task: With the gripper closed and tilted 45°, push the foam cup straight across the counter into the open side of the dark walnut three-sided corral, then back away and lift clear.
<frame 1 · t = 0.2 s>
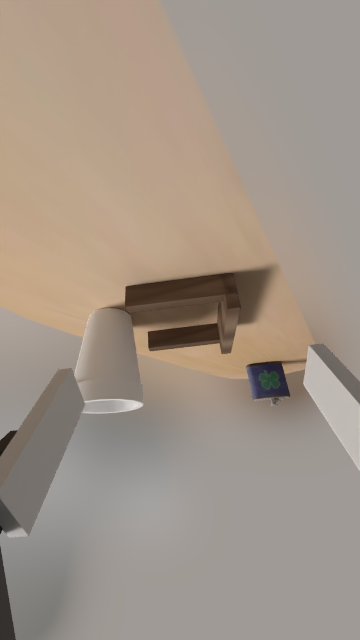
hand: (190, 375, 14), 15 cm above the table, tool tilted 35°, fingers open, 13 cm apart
corral: (178, 310, 38), on the table
foam cup: (110, 317, 39), on the table
flask: (263, 363, 67), on the table
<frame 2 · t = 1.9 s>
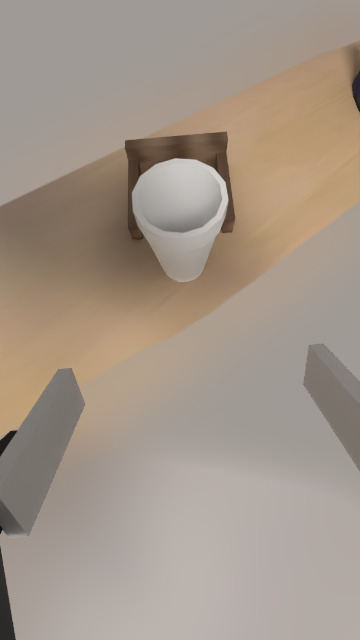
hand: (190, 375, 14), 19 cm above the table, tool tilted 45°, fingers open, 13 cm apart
corral: (180, 202, 40), on the table
foam cup: (183, 263, 37), on the table
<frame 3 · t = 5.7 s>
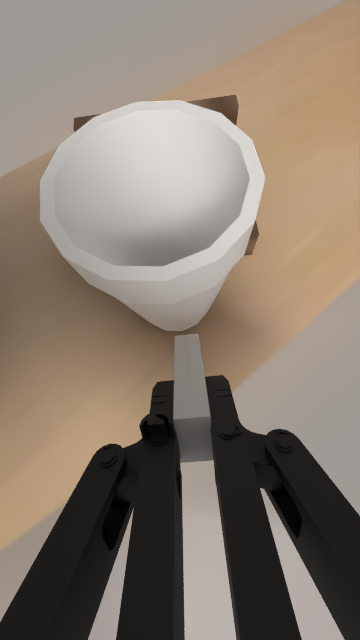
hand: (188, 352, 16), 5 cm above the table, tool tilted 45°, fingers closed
corral: (166, 211, 26), on the table
foam cup: (175, 298, 23), on the table, touching gripper
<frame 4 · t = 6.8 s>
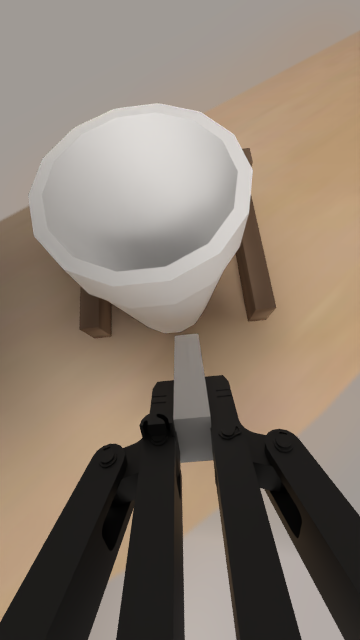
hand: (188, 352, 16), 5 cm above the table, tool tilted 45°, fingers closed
corral: (173, 267, 24), on the table
foam cup: (170, 300, 23), on the table, touching gripper
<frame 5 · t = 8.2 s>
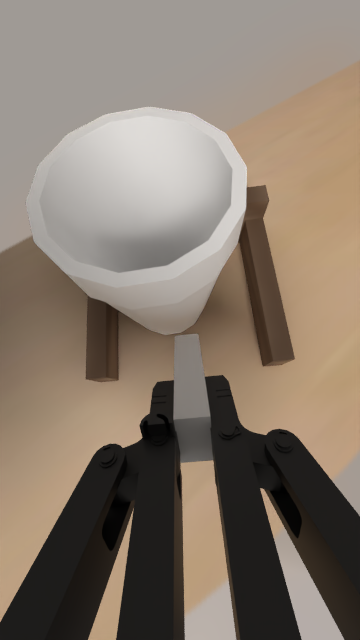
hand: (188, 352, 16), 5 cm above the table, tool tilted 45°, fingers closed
corral: (183, 305, 23), on the table
foam cup: (169, 301, 23), on the table, touching corral, gripper
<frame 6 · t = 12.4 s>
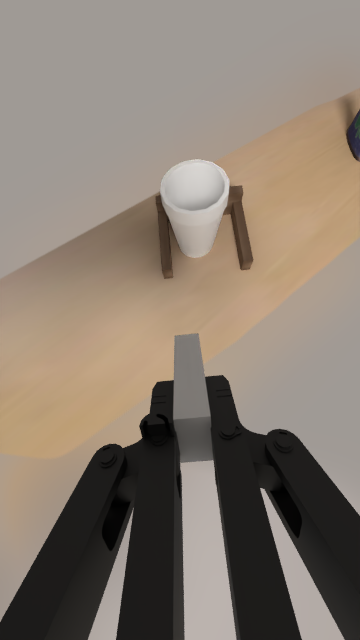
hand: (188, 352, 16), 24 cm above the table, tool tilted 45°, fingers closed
corral: (202, 244, 47), on the table
foam cup: (195, 243, 47), on the table
flask: (355, 146, 51), on the table
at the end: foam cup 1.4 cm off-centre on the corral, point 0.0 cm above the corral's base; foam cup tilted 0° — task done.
